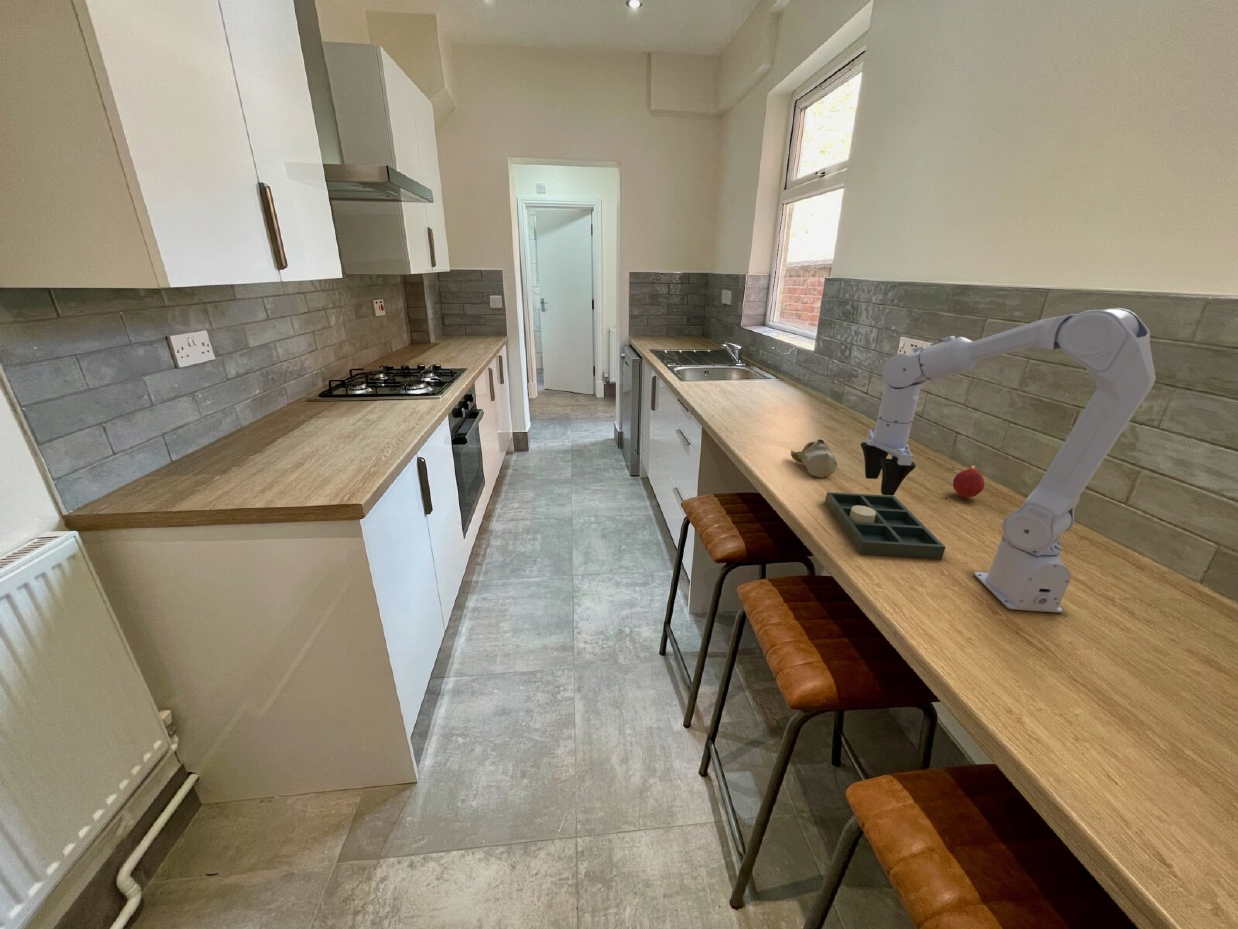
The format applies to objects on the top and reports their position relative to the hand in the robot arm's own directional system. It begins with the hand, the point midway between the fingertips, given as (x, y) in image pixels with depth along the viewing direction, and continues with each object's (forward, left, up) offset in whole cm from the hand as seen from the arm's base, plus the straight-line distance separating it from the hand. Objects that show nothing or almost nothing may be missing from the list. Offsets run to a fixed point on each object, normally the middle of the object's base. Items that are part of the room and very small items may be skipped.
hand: (879, 486), depth 95 cm
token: (0, +2, -8) cm, 9 cm away
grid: (0, -2, -9) cm, 9 cm away
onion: (+17, -28, -9) cm, 34 cm away
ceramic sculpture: (+30, +2, -9) cm, 31 cm away
